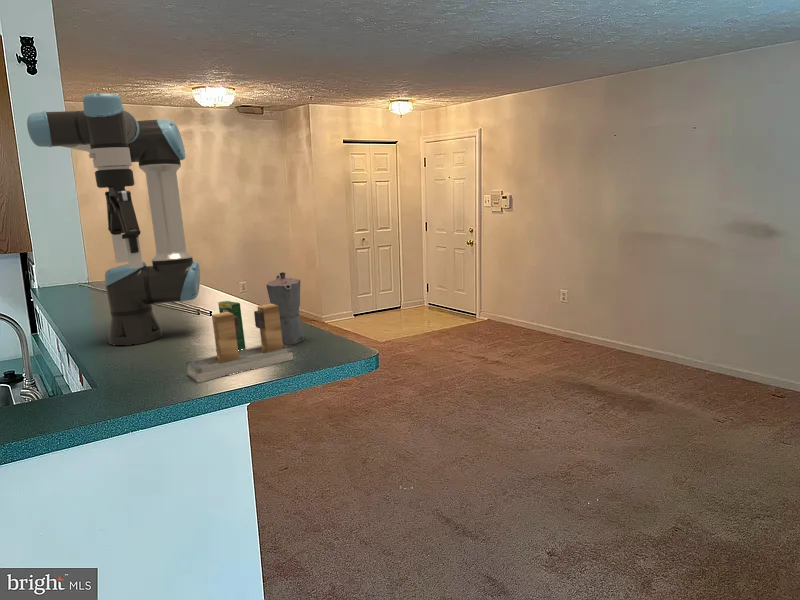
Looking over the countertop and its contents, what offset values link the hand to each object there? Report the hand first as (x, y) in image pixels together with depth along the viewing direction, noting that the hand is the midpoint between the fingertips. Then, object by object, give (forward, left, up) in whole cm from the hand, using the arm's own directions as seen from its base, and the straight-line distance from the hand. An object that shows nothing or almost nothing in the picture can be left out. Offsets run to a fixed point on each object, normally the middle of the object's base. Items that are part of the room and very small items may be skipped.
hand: (129, 265), depth 132 cm
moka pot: (-9, +40, -28) cm, 50 cm away
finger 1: (+5, +18, -26) cm, 32 cm away
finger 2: (+5, +29, -26) cm, 40 cm away
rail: (+5, +21, -28) cm, 35 cm away
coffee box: (-14, +26, -28) cm, 41 cm away
